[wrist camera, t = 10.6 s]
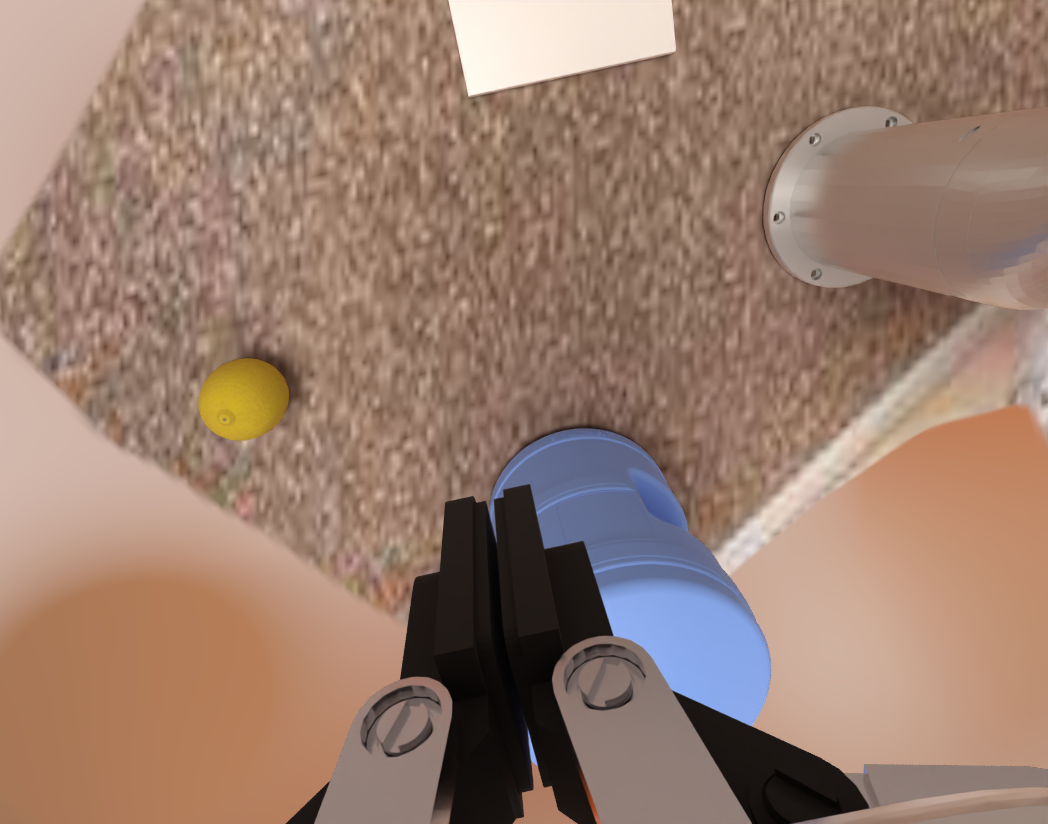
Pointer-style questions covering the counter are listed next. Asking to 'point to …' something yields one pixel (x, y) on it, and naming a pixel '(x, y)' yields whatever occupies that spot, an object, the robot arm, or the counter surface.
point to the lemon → (243, 399)
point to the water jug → (646, 565)
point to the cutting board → (555, 38)
